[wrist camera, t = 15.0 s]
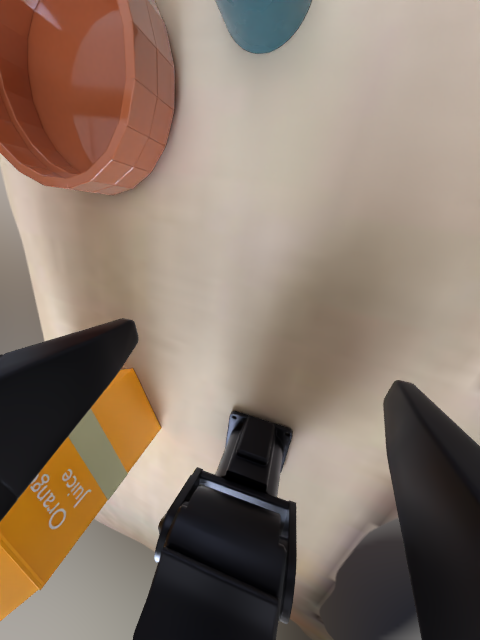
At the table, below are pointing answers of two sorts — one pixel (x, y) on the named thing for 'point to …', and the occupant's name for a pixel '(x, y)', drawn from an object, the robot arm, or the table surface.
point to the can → (262, 21)
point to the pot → (85, 91)
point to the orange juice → (73, 488)
